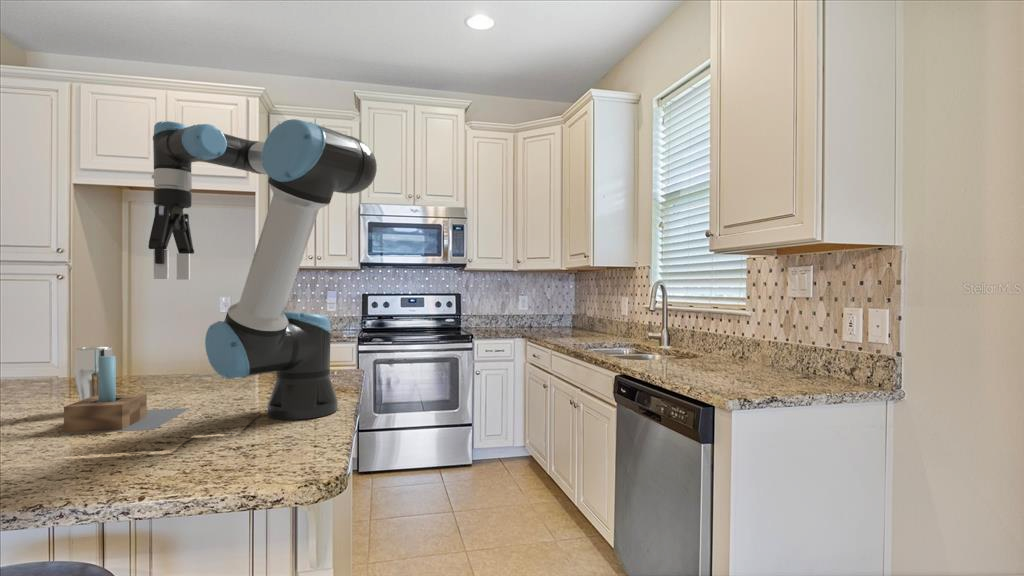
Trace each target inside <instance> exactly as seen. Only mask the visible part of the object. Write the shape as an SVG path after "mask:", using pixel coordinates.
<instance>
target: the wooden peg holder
mask: <svg viewBox="0 0 1024 576" xmlns="http://www.w3.org/2000/svg"><path fill="white" fill-rule="evenodd" d="M147 399H148V394H147V393H142V394H141V393H139V394H136V393H135V394H134V393H133V394H116V401H115V402H100V403H98V396H92V397H89V398H87V399H84V400H81V401H79V400H78V401H75V402H73V403H71V404H68V405H65V406H63V433H64V432H85V431H106V430H123V429H125V428H127V427H128V426H130V425H132V424H134V423H136V422H138V421H140V420H142V419H144V418H146V417H147V410H148V407H147V402H148V401H147Z"/></svg>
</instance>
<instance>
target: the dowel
mask: <svg viewBox="0 0 1024 576" xmlns="http://www.w3.org/2000/svg"><path fill="white" fill-rule="evenodd" d="M116 360H117V356H116V355H113V356H100V357H99V364H98V403H100V402H115V401H116V395H117V394H116V393H117V392H116V391H117V387H116V384H117V380H116V379H117V378H116V376H117V373H116V372H117V371H116V369H117V361H116Z"/></svg>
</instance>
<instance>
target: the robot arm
mask: <svg viewBox="0 0 1024 576" xmlns="http://www.w3.org/2000/svg"><path fill="white" fill-rule="evenodd" d="M153 126H154V127H153V135H152V141H153V143H152V146H153V147H152V148H153V151H152V152H153V174H151V179H152V180H153V186H154V187H155V189H154V190H153V205H155V206H154V218H153V222H152V227H151V231H150V236H149V240H148V245H147V246H148V250H153V279H154V280H169V279H170V276H169V275H170V274H169V273H170V272H169V271H170V268H169V266H170V265H169V263H170V261H169V260H170V251H169V249H167V248H168V245H169V244H170V243H169V242H170V239H171V238H172V235H173V238H174V241H175V245H176V248H177V253H176V280H186V281H187V280H188V281H189V280H190V281H191V255H194V254H195V249H194V246H193V239H192V235H191V234H192V233H191V228H190V219H189V217H190V216H189V213H184V209H189V208H191V207H192V193H191V192H190V191H191V190H193V188H192V187H193V186H192V185H193V184H192V183H193V182H192V181H193V180H192V174H193V173H192V164H193V163H196V162H201V163H202V162H203V163H208V164H213V165H216V166H217V165H218V166H222V167H227V168H233V169H237V170H240V171H246V172H251V173H253V174H256V175H268V181H267V184H268V187H270V189H271V191H272V193H273V195H272V199H271V201H270V204H269V207H268V211H267V213H266V217H265V219H264V220H265V221H264V223H263V226H262V230H261V231H260V234H259V235H260V236H259V239H258V242H257V244H256V248H255V251H254V255H253V257H252V261H251V264H250V267H249V270H248V274H247V277H246V280H245V283H244V286H243V290H242V292H241V295H240V300H239V301H238V302H236V303H233V304H232V305H230V306H229V307H228V308H227V312H226V315H225V318H224V321H222V320H217V322H214V323H212V324H210V325H209V326H208V327H207V330H206V334H205V338H204V339H205V343H204V346H205V352H206V353H205V354H206V356H207V360H208V362H209V364H210V366H211V367H212V369H213V370H214V371H215V373H217V374H218V375H219V376H221V377H222V378H225V379H237V378H241V379H245V378H248V377H252V376H257V375H262V374H271V373H275V375H276V376H275V384H274V386H273V389H272V391H271V395H270V397H269V400H268V403H267V417H270V418H272V419H275V420H277V419H278V420H284V421H285V420H286V421H287V420H291V421H292V420H295V421H296V420H308V419H315V418H320V417H324V416H328V415H332V414H334V413H335V412H337V411H338V408H339V407H338V403H339V402H338V397H337V395H336V391H335V388H334V385H333V382H332V380H331V335H332V331H331V324H330V323H331V322H330V319H329V318H328V317H327V315H323V314H318V313H317V314H316V313H304V312H291V311H286V307H287V305H288V302H289V299H290V296H291V293H292V290H293V287H294V284H295V281H296V279H297V274H298V272H299V269H300V266H301V264H302V260H303V258H304V255H305V252H306V248H307V246H308V242H309V240H310V237H311V235H312V231H313V229H314V225H315V222H316V220H317V219H316V218H317V216H318V213H319V210H320V209H322V208H324V207H327V206H330V204H331V200H332V199H333V195H334V192H335V193H340V194H346V195H347V194H348V195H349V194H356V193H357V194H358V193H360V192H363V191H364V190H366V189H367V188H369V187H370V186H371V185H372V183H373V182H374V180H375V178H376V174H377V165H378V164H377V160H376V157H375V154H374V152H373V151H372V149H371V148H370V147H369V146H368V145H367V144H366V142H363V141H362V140H360V139H358V138H357V137H354V136H351V135H347V134H344V133H341V132H338V131H335V130H333V129H331V128H327V127H325V126H322V125H319V124H317V123H313V122H312V121H311V122H309V121H306V120H301V119H297V118H296V119H295V118H293V119H286V120H283V122H281V123H278V124H277V125H276V126H275V127H274V128H272V130H271V131H270V132H269V134H268V135H267V137H266V139H265V141H258V140H250V139H245V138H242V137H238V136H234V135H231V134H227V133H224V132H222V131H221V130H220V129H219V128H218V127H216V126H215V125H213V124H209V123H208V124H207V123H202V124H201V123H200V124H199V123H198V124H193V125H190V126H188V125H186V124H184V123H182V122H181V123H180V122H175V121H169V120H167V121H158V122H156V123H155V124H154V125H153Z"/></svg>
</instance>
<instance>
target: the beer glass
mask: <svg viewBox="0 0 1024 576" xmlns="http://www.w3.org/2000/svg"><path fill="white" fill-rule="evenodd" d="M113 349H114V347H113V346H110V345H107V346H105V345H104V346H103V345H102V346H101V345H100V346H98V345H96V346H86V347H85V346H83V347H77V348H75V354H74V363H73V368H74V369H73V373H74V380H75V383H76V384H75V385H76V389H77V393H78V401H81V400H84V399H87V398H89V397H92V396H98V364H99V357H100V356H114V353H113Z"/></svg>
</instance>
